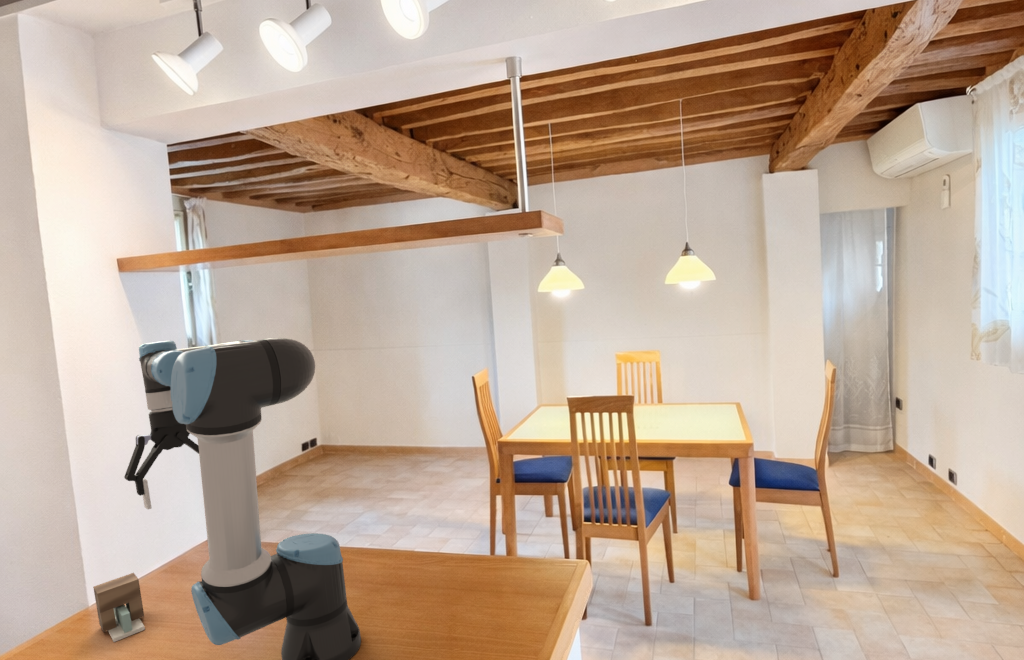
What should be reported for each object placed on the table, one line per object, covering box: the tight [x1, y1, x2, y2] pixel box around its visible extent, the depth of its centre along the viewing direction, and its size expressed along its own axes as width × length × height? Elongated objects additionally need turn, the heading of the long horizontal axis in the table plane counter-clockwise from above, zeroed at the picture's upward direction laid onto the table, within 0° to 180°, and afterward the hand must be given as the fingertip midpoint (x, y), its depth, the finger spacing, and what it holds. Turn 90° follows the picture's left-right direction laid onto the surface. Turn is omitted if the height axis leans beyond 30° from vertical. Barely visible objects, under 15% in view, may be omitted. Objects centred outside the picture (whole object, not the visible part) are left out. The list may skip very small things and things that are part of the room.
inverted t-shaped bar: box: [107, 604, 146, 643], centre depth 141 cm, size 15×6×5 cm, turn 43°
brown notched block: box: [93, 572, 145, 633], centre depth 140 cm, size 5×8×9 cm, turn 133°
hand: (180, 498), depth 142 cm, fingers open, 13 cm apart
